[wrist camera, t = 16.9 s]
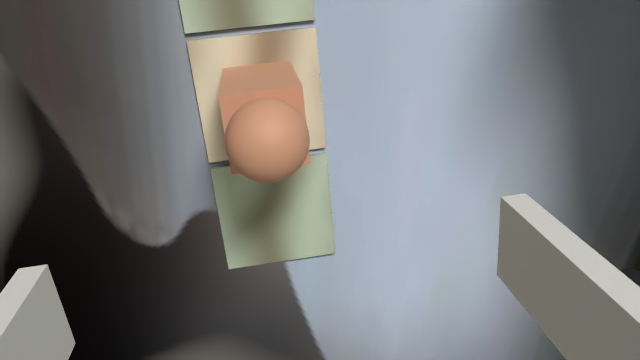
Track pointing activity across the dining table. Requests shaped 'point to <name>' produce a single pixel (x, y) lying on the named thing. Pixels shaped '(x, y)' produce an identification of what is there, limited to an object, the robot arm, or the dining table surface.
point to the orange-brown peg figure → (264, 121)
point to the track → (230, 190)
